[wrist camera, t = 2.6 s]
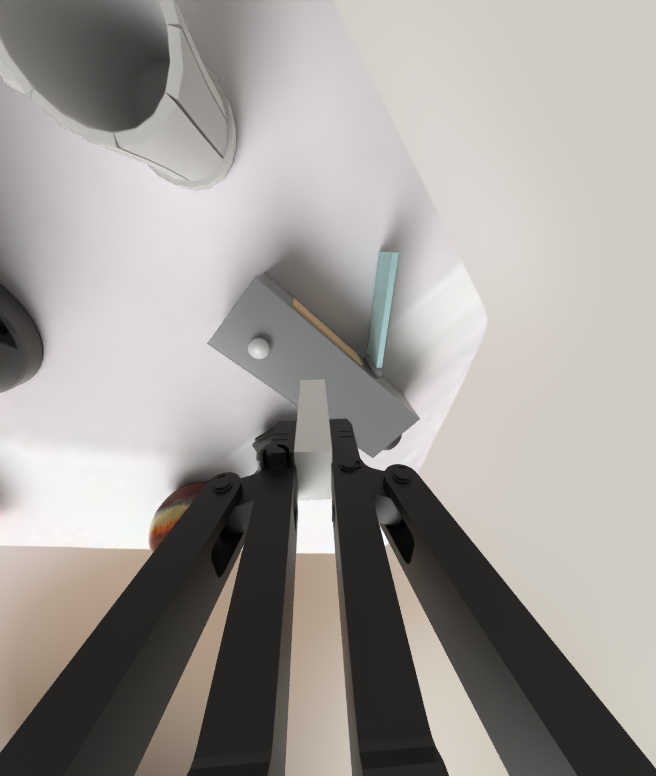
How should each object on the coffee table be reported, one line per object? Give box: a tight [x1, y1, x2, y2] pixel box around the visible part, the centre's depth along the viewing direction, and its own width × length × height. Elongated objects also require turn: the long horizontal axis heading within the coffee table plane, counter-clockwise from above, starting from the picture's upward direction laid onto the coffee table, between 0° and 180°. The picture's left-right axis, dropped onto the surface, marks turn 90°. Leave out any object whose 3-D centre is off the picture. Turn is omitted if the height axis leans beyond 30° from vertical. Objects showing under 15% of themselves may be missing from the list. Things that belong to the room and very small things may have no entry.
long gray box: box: [207, 272, 420, 458], centre depth 31 cm, size 26×8×7 cm, turn 48°
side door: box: [365, 252, 399, 378], centre depth 29 cm, size 13×1×5 cm, turn 178°
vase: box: [148, 483, 206, 554], centre depth 37 cm, size 11×11×15 cm
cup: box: [0, 0, 236, 190], centre depth 17 cm, size 10×9×12 cm
